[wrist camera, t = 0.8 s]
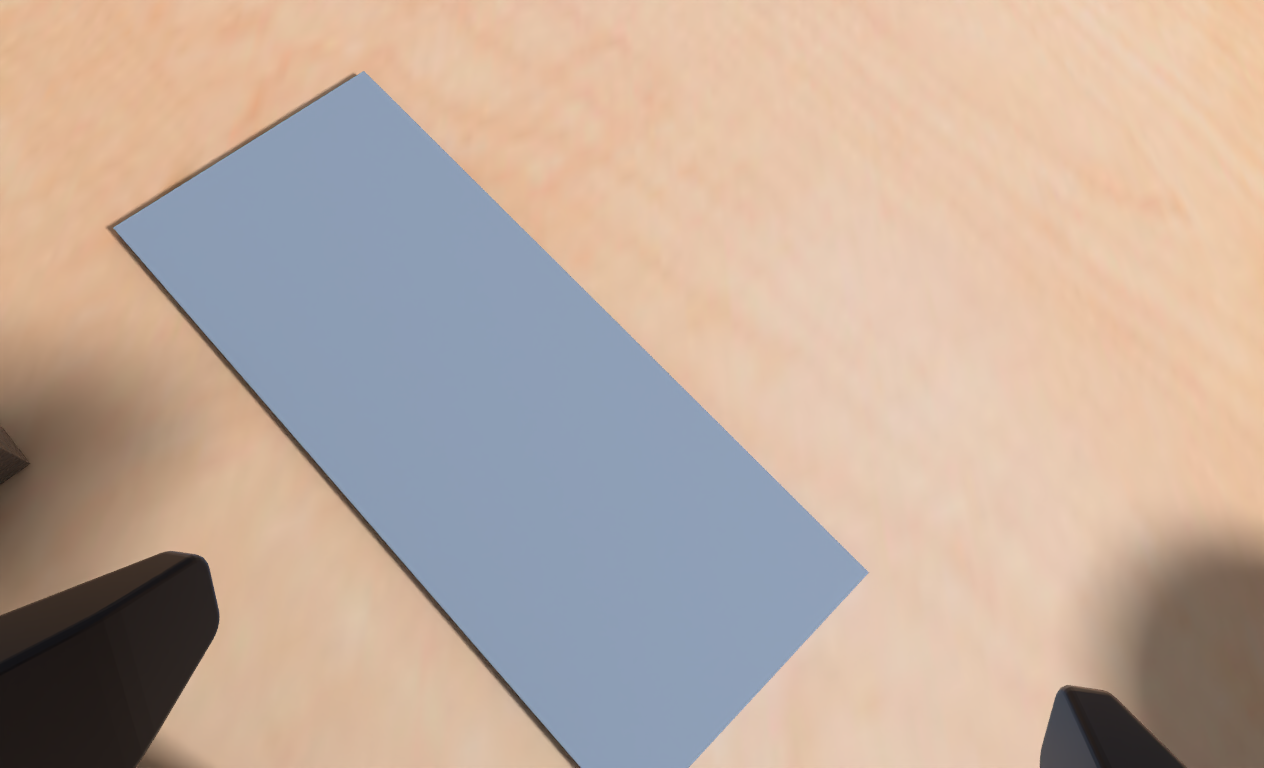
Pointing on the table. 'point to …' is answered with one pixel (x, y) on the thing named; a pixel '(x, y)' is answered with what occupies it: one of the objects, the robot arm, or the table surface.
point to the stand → (10, 457)
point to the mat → (497, 429)
